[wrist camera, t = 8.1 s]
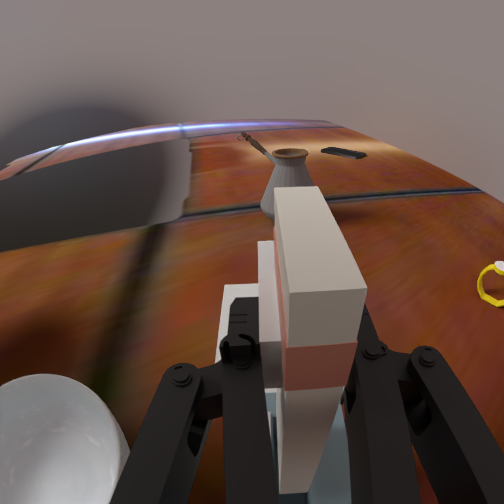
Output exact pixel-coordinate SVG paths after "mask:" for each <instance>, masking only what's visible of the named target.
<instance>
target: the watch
mask: <svg viewBox="0 0 504 504" xmlns="http://www.w3.org/2000/svg"><path fill="white" fill-rule="evenodd" d="M489 270H495V272H497V273H498V274H500V275H503V276H504V262H503V261H496V262H495V264H491V265H489V266H488V267H486V268H485V269H484V270H483V271H482V273H481V274H480V276H479V279H478V282H477V288H478V293H479V295H480V297H481V298H482V300H485V301H487V302H489V303H491V304H492V305H494V306H496V307H501V306H504V300H501V301H498V300H496V299H494V298H492V297H491V296H489V295H487V294H485V292H484V290H483V287H482V277H483V275H484V274H485V273H486V272H487V271H489Z"/></svg>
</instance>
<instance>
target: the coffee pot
mask: <svg viewBox="0 0 504 504" xmlns="http://www.w3.org/2000/svg"><path fill="white" fill-rule="evenodd" d="M241 134H242V136H243V137H245V138H244V139H246V140H247V141H249V142H250V143H251V145H252V146H253V147H255V148H256V149H257V150H259V151H260V152H261V153H263V154H264V155H266V156H267V157H268V158H269V159H270V160H271V161H272V162H273V163H274V164H275V168H274V170H273V173H272V175H271V178H270V180H269V183H268V186H267V188H266V191H265V193H264V196H263V198H262V201H261V209H262V210H263V212H264V214H265V215H266V216H267V217H268V218H270V219H271V220H272V221H273V222H275V212H274V188H276V187H312V186H314V184H313V182H312V179H311V177H310V175H309V172H308V170H307V168H306V165H305V159H306V156H307V155H308V151H306V150H305V149H292V148H289V149H279V150H275V151H273V152H272V155H273V156H275V158H274V157H273V156H272V155H270V154H269V153H268V152H267V151H266V150H265V149H264V148H263V147H262V146H261V145H260V144H259V143H258V142H257V141H255V140H254V139H252V138H251V136H250V135H247V134H246V133H244V132H241ZM241 134H239V135H241ZM239 135H238V137H239ZM238 137H237V138H238ZM244 139H242V140H244ZM238 140H239V139H238Z"/></svg>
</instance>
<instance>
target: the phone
mask: <svg viewBox="0 0 504 504" xmlns="http://www.w3.org/2000/svg"><path fill="white" fill-rule="evenodd" d="M321 152H322V153H328V154H333V155H338V156H343V157H348V158H353V159H360V158H362V157H365V156H366V153H362V152H357V151H352V150H347V149H341V148H336V147H328V148H325V149H321Z"/></svg>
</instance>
